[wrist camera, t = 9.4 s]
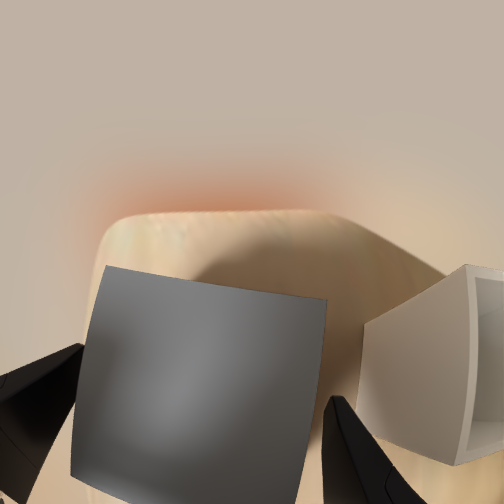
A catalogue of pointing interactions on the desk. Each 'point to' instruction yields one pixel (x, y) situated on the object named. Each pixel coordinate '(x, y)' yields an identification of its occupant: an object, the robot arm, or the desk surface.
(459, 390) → the white open box
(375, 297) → the desk surface
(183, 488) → the gray block
